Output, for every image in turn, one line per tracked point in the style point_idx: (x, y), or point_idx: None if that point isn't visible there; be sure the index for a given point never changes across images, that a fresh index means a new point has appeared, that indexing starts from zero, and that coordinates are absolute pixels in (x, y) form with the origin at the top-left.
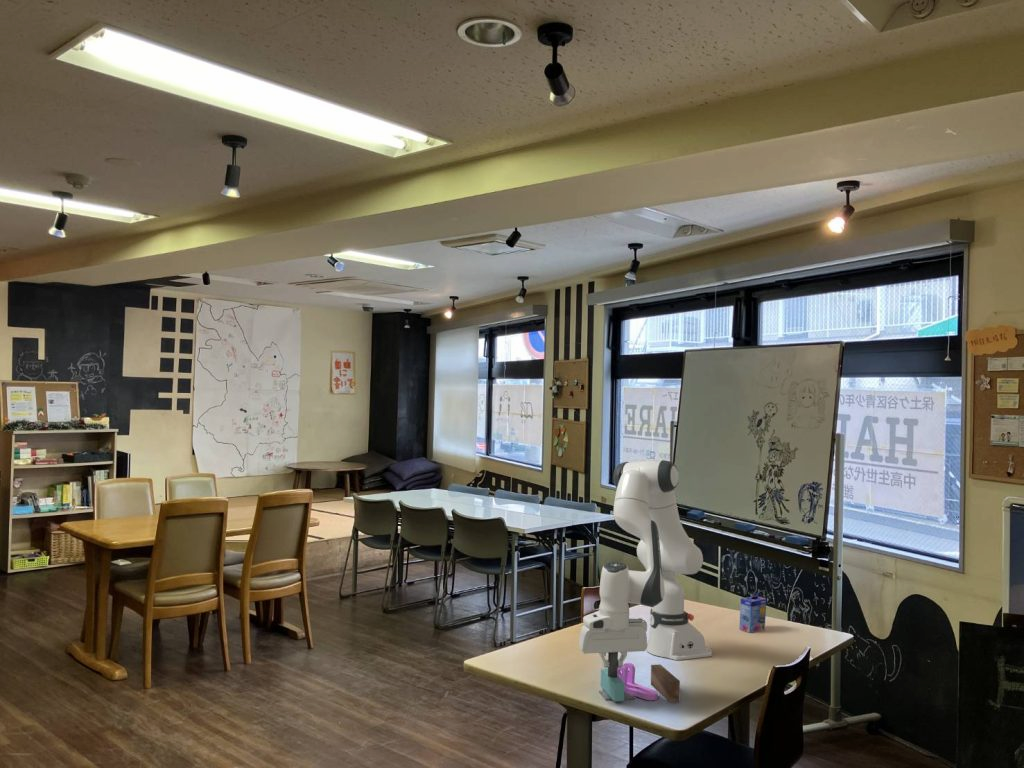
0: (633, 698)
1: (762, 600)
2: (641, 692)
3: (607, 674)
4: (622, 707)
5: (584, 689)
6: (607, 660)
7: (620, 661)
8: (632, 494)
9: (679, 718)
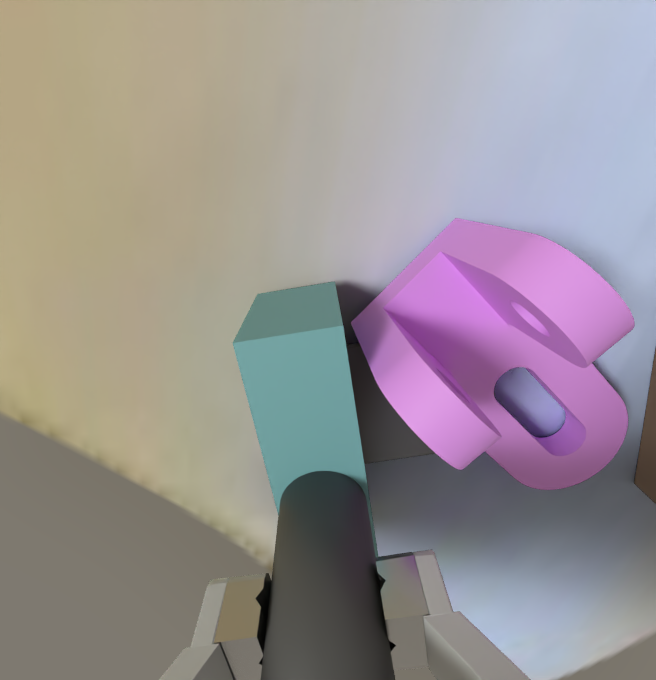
0: None
1: None
2: (511, 460)
3: (281, 481)
4: None
5: (139, 309)
6: (254, 655)
7: (421, 665)
8: None
9: (580, 624)
